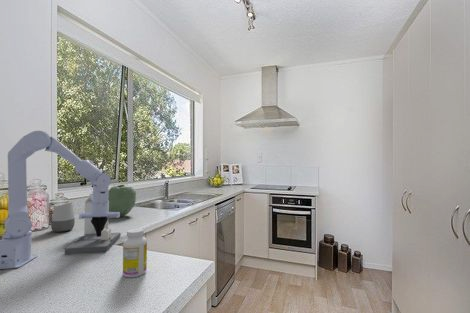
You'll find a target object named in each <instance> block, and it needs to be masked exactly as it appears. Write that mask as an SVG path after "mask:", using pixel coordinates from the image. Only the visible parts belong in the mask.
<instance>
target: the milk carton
mask: <svg viewBox="0 0 470 313" xmlns="http://www.w3.org/2000/svg"><path fill="white" fill-rule="evenodd" d="M92 194H93V193H89V197H88V198H87V199H86V200H85V201H84V213H92ZM108 212H109V200H108ZM91 220H92V218H84V227H83V236H84V235H85V234H96V231H95V228H94V226H93V224H92V223H91ZM107 228H109V218H108V220H107V222H106V224H105V226H104V229H107ZM104 229H103V230H104Z"/></svg>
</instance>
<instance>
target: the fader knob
mask: <svg viewBox="0 0 470 313" xmlns="http://www.w3.org/2000/svg"><path fill="white" fill-rule="evenodd" d="M111 233H112V227H110V228H109V227H108V228H107V229H104V230H102V231H101V240H108V239H109V238H110V237H111Z"/></svg>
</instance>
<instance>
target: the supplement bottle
mask: <svg viewBox="0 0 470 313" xmlns="http://www.w3.org/2000/svg"><path fill="white" fill-rule="evenodd" d="M144 232H145V231H144V228H140V227H139V228H138V227H136V228H131V229H128V230H127V231H126V236H127V238H126V239H124V241H123V243H122V244H123V245H122V275H123V276H124V277H125V278H136V277H140V276H142V275H144V274H145V273H146V272H147V266H148V265H147V262H148V261H147V260H148V259H147V258H148V256H147V255H148V250H147V249H148V248H147V247H148V240H147V238H146V237H145V236H144Z"/></svg>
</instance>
